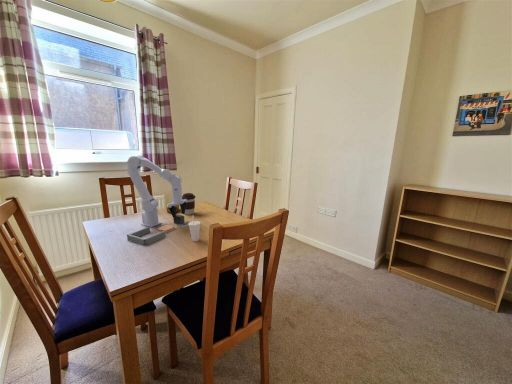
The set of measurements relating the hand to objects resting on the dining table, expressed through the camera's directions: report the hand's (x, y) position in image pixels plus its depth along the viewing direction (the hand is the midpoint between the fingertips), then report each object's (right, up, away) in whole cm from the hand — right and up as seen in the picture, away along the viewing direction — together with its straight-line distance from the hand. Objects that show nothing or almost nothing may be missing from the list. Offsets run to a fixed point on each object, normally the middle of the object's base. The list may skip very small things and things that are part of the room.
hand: (178, 215), depth 139 cm
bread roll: (-14, 0, +26) cm, 30 cm away
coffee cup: (0, -1, +22) cm, 22 cm away
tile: (-4, -8, -9) cm, 13 cm away
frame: (-10, -10, -20) cm, 25 cm away
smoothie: (+17, -11, -22) cm, 30 cm away
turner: (+2, -6, 0) cm, 6 cm away
